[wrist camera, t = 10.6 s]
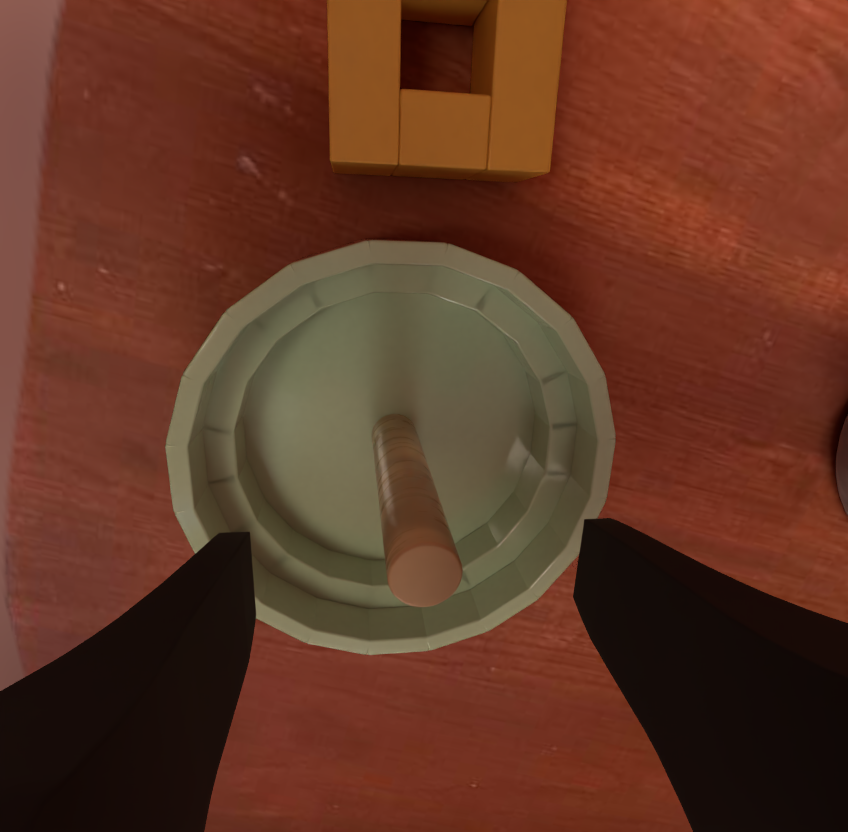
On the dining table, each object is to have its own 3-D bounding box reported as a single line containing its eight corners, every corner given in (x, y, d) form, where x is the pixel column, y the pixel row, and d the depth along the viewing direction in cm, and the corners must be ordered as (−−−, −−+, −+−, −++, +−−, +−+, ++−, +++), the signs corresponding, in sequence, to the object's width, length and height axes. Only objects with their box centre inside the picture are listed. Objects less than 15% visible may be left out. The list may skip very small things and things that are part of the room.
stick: (371, 455, 19) (386, 611, 11) (371, 413, 19) (387, 544, 11) (415, 455, 20) (461, 606, 12) (416, 413, 19) (465, 541, 11)
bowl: (220, 590, 21) (192, 667, 17) (184, 231, 17) (138, 231, 13) (546, 573, 23) (585, 641, 19) (587, 246, 19) (646, 249, 15)
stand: (333, 173, 17) (329, 161, 14) (329, -63, 15) (324, -131, 12) (518, 182, 18) (550, 173, 15) (537, -40, 16) (577, -99, 13)
